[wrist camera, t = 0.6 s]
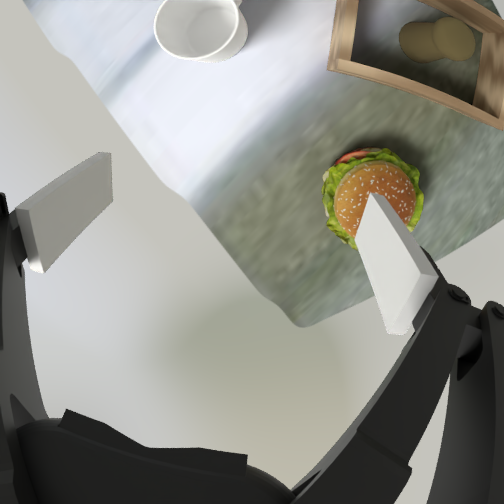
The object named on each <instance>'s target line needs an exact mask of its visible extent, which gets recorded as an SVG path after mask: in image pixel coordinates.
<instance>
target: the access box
mask: <svg viewBox="0 0 504 504" xmlns="http://www.w3.org/2000/svg"><path fill="white" fill-rule="evenodd" d="M418 1H420V2H422V3H425V4H427V5H429V6H431V7H434V8H436V9H438V10H440V11H442V12H444V13H446V14H448V15H450V16H452V17H454V18H457V19H459V20H461V21H462V22H464V23H466V24H467V25H469V26H471V27H473V28H475V29H476V30H478V31H480V32H481V33H483V37H482V47H481V56H480V63H479V70H478V77H477V83H476V88H475V94H474V99H473V104H472V105H470V104H468V103H466V102H464V101H462V100H460V99H457V98H455V97H453V96H451V95H448V94H446V93H444V92H441V91H439V90H436V89H434V88H432V87H429V86H426V85H424V84H421V83H419V82H416V81H413V80H410V79H407V78H405V77H402V76H399V75H396V74H393V73H390V72H386V71H383V70H380V69H377V68H373V67H370V66H366V65H362V64H359V63H355V62H351V61H350V60H351V53H352V47H353V40H354V33H355V26H356V18H357V11H358V3H359V0H337V2H336V10H335V17H334V25H333V32H332V39H331V45H330V52H329V59H328V65H327V70H329V71H333V72H338V73H342V74H346V75H350V76H354V77H358V78H362V79H366V80H369V81H373V82H377V83H380V84H383V85H387V86H390V87H393V88H396V89H399V90H402V91H405V92H408V93H411V94H414V95H417V96H420V97H422V98H425V99H428V100H430V101H433V102H435V103H438V104H440V105H443V106H445V107H448V108H450V109H452V110H455V111H457V112H459V113H462V114H464V115H466V116H468V117H470V118H473V119H475V120H477V121H480V122H482V123H485V124H487V125H490V126H492V127H495V128H497V129H500V130H502V131H503V129H504V20H503V19H502V18H500V17H499V16H497V15H496V14H494V13H493V12H491V11H490V10H488V9H486V8H485V7H483V6H482V5H480V4H478V3H477V2H475V1H473V0H418Z"/></svg>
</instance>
